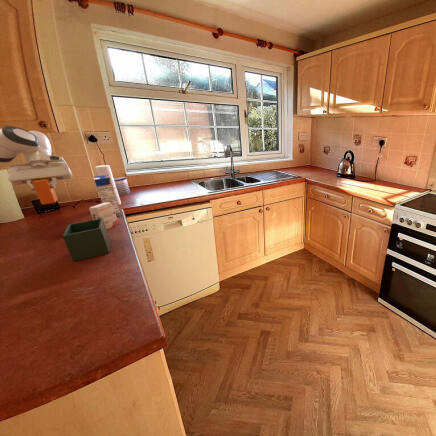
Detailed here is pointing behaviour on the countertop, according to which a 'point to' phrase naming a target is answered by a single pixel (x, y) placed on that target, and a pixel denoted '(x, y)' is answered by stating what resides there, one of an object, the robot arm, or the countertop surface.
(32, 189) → the robot arm
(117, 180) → the can
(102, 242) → the dark green open box
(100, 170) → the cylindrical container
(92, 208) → the ink box
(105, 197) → the beverage box
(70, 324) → the countertop surface
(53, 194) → the block
